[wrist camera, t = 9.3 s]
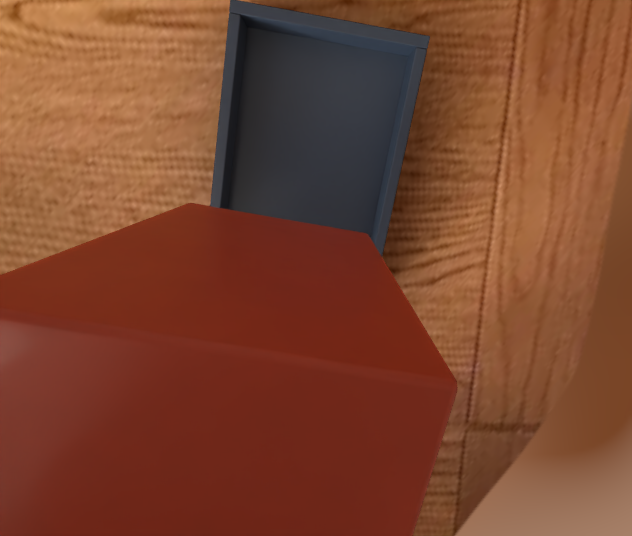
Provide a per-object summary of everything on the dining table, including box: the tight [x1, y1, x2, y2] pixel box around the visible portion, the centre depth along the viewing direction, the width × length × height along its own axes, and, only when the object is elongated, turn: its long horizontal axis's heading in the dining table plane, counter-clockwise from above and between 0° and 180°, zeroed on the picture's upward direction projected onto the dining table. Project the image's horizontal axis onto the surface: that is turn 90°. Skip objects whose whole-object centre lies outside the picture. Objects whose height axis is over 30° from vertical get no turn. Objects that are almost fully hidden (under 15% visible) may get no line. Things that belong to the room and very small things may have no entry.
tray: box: [210, 0, 430, 257], centre depth 23 cm, size 16×10×2 cm, turn 170°
